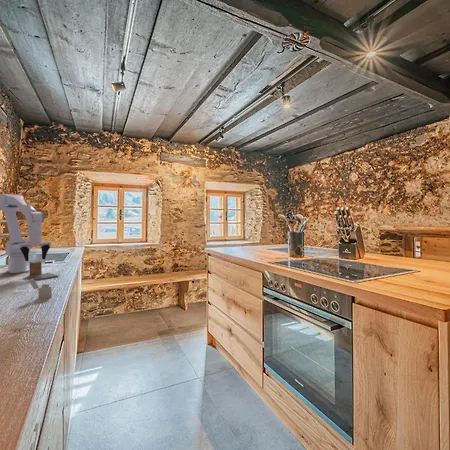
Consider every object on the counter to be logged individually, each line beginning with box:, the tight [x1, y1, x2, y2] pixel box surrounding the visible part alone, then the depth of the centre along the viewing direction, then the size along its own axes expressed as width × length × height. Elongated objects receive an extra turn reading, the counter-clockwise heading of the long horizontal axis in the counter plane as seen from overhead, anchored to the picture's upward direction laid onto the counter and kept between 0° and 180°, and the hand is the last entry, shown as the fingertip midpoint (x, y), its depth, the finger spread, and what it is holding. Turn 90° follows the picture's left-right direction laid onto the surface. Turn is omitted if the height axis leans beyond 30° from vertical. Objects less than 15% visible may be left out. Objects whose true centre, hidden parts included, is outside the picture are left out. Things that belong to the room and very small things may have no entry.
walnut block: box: [28, 261, 43, 276], centre depth 138 cm, size 4×4×7 cm
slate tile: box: [26, 272, 59, 282], centre depth 134 cm, size 10×10×1 cm
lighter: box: [28, 278, 53, 300], centre depth 101 cm, size 7×2×8 cm, turn 121°
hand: (35, 260), depth 138 cm, fingers open, 7 cm apart
